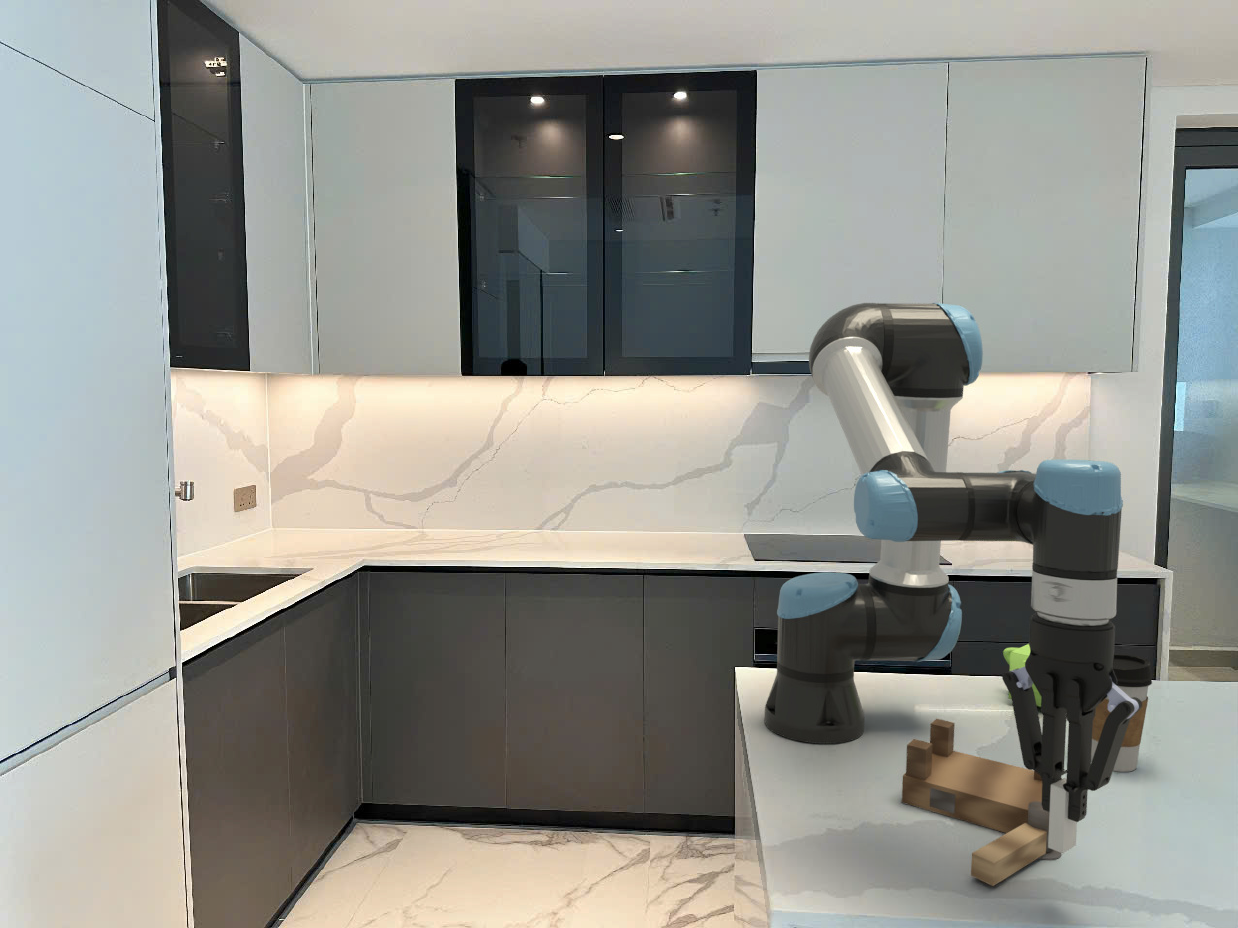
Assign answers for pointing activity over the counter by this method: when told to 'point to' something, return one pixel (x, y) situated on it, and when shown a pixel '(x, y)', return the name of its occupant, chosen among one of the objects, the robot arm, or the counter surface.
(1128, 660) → the coffee cup
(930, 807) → the stool top
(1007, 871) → the hinged leg
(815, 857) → the counter surface
